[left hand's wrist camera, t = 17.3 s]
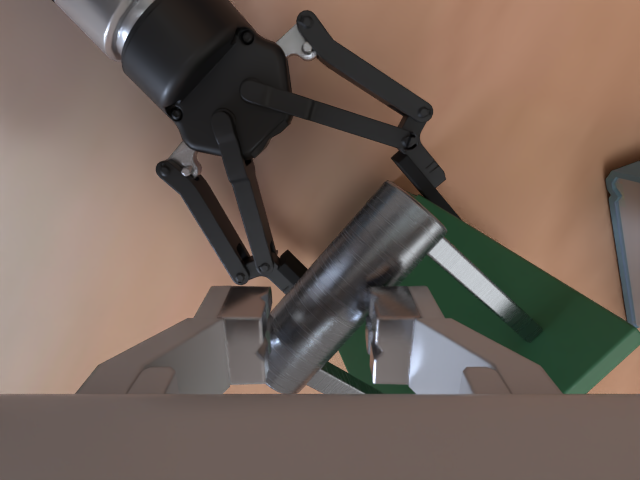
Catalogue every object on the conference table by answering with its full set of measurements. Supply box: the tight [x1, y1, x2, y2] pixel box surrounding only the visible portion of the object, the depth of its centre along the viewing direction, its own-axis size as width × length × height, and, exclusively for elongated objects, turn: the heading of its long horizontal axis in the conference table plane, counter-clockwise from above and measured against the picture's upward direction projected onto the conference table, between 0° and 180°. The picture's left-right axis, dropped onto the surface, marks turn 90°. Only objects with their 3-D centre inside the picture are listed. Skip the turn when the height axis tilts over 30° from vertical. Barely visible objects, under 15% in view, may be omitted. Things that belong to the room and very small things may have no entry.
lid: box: [266, 181, 640, 394], centre depth 17 cm, size 14×10×9 cm
